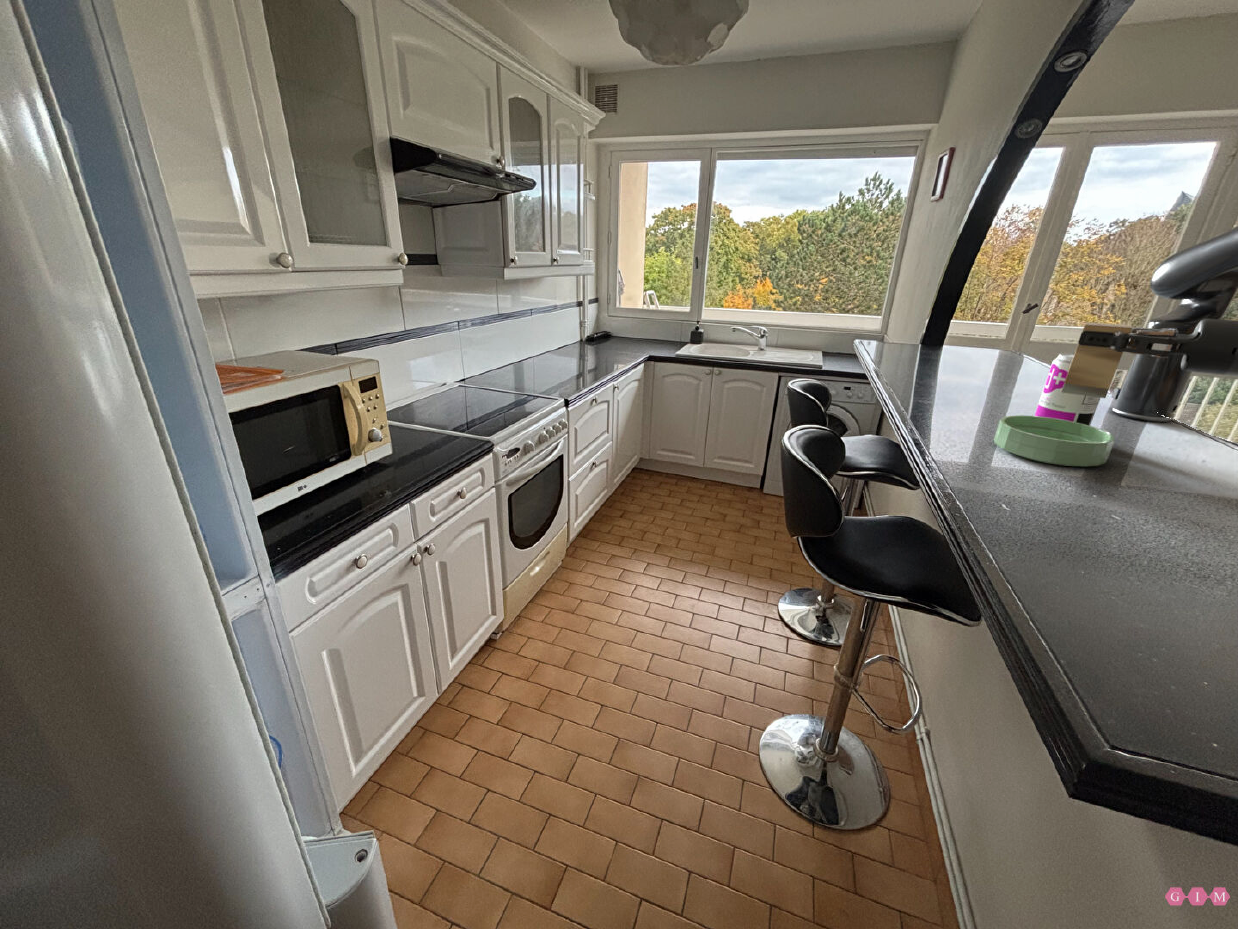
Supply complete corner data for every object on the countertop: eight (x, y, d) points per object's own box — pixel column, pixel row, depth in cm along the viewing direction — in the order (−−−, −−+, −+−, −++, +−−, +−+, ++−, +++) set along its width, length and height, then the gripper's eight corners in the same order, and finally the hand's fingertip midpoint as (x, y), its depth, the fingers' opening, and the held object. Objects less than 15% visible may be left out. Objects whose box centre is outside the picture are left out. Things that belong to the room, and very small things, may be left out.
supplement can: (1040, 439, 94) (1068, 358, 88) (1022, 426, 101) (1047, 351, 96) (1093, 444, 92) (1125, 361, 86) (1070, 431, 99) (1099, 354, 94)
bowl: (986, 433, 97) (993, 411, 95) (1086, 446, 91) (1095, 422, 89) (1002, 459, 84) (1010, 434, 83) (1120, 476, 78) (1131, 449, 77)
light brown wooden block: (1063, 387, 87) (1086, 322, 83) (1105, 393, 84) (1132, 325, 80) (1061, 392, 84) (1084, 324, 80) (1105, 398, 81) (1132, 327, 77)
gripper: (1243, 317, 75) (1091, 309, 86) (1260, 325, 65) (1086, 315, 76) (1219, 367, 78) (1075, 353, 89) (1233, 382, 68) (1069, 365, 79)
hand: (1081, 335), depth 82 cm, fingers closed on light brown wooden block, 4 cm apart
